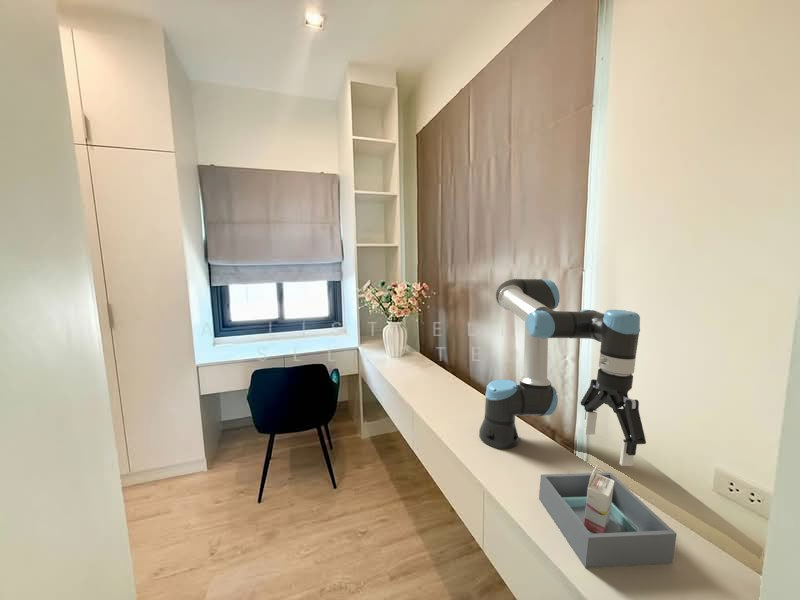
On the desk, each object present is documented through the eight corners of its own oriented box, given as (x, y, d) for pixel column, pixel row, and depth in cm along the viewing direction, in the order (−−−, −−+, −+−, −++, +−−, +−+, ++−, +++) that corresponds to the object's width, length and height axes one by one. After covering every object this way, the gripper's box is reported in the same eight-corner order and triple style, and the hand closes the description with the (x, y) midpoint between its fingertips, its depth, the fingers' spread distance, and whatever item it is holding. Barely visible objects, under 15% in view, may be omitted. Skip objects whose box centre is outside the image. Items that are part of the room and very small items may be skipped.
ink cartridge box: (604, 538, 83) (610, 486, 81) (583, 527, 86) (588, 477, 84) (610, 518, 89) (616, 470, 87) (590, 509, 93) (595, 462, 91)
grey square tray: (538, 498, 98) (540, 474, 97) (607, 496, 99) (610, 472, 98) (585, 567, 76) (588, 537, 75) (672, 563, 78) (676, 533, 77)
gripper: (572, 355, 94) (565, 423, 97) (641, 392, 69) (629, 481, 72) (596, 355, 94) (588, 423, 97) (673, 391, 70) (660, 480, 73)
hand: (606, 448), depth 85 cm, fingers open, 13 cm apart
